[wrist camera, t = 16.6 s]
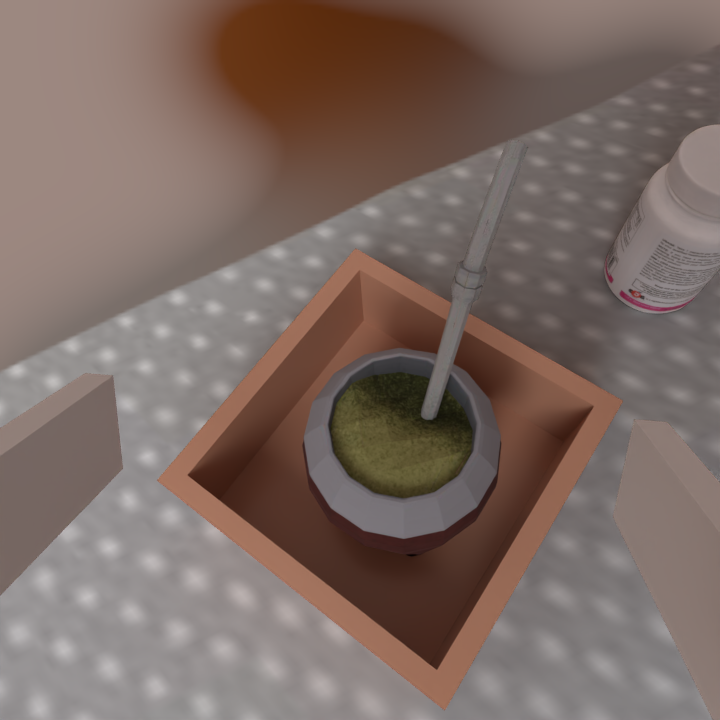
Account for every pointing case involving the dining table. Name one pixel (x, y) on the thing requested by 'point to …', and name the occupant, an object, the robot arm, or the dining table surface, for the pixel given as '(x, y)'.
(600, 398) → the box
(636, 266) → the pill bottle
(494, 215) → the mate gourd
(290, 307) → the dining table surface
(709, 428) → the dining table surface
